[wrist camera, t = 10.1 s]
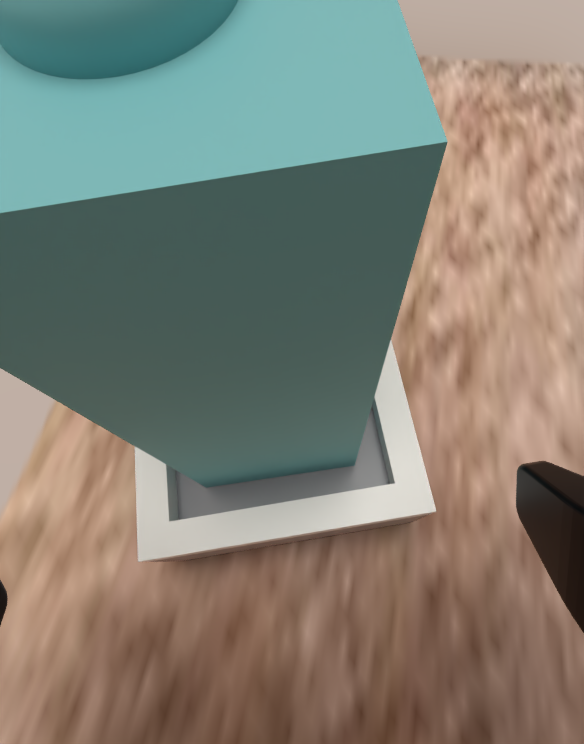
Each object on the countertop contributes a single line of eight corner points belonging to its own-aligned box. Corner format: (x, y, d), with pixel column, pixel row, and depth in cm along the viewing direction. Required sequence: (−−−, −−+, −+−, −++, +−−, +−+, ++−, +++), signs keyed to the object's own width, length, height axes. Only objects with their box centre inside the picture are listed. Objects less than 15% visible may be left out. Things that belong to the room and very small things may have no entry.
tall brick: (354, 465, 15) (479, 27, 3) (206, 487, 16) (-350, 163, 3) (329, 332, 17) (334, -297, 5) (197, 352, 17) (-159, -211, 5)
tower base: (411, 522, 18) (436, 511, 14) (181, 560, 18) (137, 561, 14) (362, 318, 21) (370, 261, 17) (169, 352, 21) (130, 302, 17)
